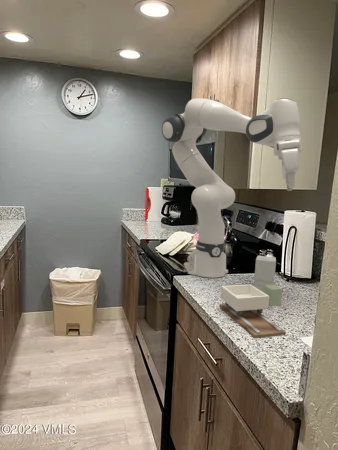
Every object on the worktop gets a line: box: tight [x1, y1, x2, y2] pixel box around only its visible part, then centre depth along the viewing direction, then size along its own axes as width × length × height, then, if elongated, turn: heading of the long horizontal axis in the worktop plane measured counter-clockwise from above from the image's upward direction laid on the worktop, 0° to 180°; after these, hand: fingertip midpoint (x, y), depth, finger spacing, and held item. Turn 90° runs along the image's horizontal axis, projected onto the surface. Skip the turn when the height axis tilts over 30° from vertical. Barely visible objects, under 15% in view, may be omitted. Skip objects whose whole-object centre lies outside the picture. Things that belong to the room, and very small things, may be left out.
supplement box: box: [253, 255, 277, 292], centre depth 135 cm, size 7×7×13 cm
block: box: [263, 284, 284, 307], centre depth 121 cm, size 4×4×6 cm
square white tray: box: [219, 284, 269, 315], centre depth 111 cm, size 11×11×6 cm
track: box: [219, 302, 287, 339], centre depth 107 cm, size 22×10×1 cm, turn 18°
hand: (290, 189), depth 115 cm, fingers open, 8 cm apart
